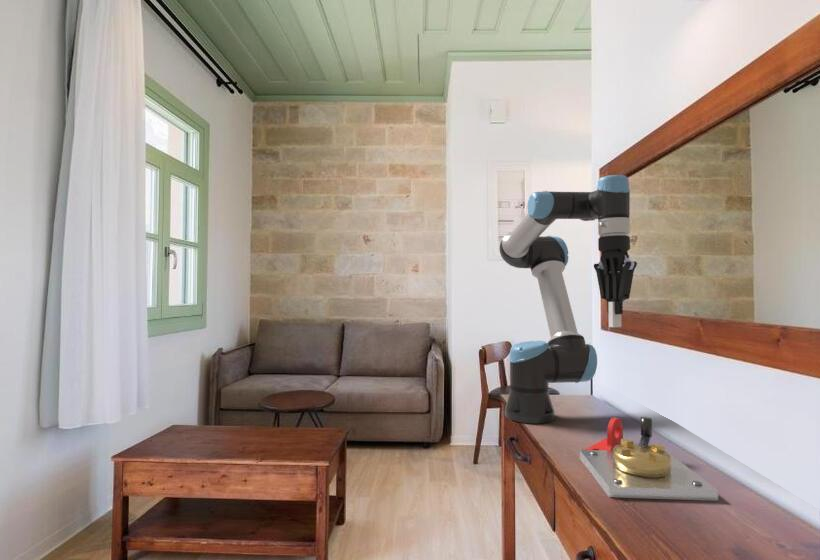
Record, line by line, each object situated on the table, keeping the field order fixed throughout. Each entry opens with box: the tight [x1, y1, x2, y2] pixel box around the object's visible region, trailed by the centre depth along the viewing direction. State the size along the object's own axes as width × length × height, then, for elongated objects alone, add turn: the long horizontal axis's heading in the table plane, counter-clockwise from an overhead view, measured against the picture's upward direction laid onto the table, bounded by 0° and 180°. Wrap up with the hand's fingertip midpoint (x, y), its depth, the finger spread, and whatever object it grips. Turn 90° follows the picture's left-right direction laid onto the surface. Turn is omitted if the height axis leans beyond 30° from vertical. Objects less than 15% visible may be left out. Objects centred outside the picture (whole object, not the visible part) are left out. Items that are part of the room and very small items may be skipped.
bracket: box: [585, 417, 624, 451], centre depth 113 cm, size 12×4×8 cm, turn 133°
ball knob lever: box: [613, 416, 671, 477], centre depth 101 cm, size 20×11×7 cm, turn 148°
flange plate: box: [579, 449, 719, 502], centre depth 97 cm, size 20×20×2 cm
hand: (615, 326), depth 117 cm, fingers closed
